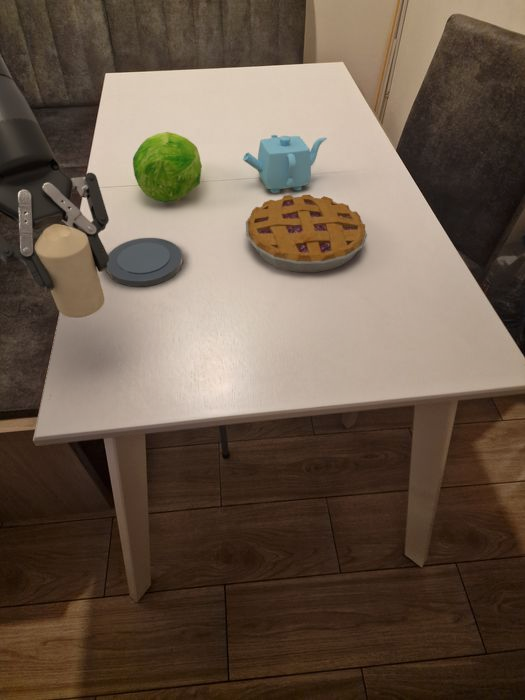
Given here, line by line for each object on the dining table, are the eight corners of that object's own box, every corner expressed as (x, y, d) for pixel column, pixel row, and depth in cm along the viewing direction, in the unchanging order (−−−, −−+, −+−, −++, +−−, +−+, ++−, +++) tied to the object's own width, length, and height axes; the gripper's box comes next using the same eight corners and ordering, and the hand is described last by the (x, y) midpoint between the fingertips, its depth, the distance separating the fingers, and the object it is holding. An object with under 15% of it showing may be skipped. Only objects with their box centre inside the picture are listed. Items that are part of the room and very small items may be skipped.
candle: (114, 302, 58) (94, 230, 51) (73, 325, 55) (47, 251, 48) (88, 283, 61) (66, 211, 54) (48, 303, 58) (19, 230, 51)
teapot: (250, 202, 100) (250, 154, 93) (236, 172, 109) (234, 126, 102) (332, 192, 103) (338, 145, 96) (311, 164, 113) (315, 119, 105)
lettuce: (208, 168, 111) (204, 113, 102) (201, 213, 97) (195, 153, 88) (147, 167, 111) (138, 113, 102) (132, 212, 97) (120, 153, 88)
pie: (341, 207, 99) (344, 184, 95) (382, 270, 84) (387, 245, 80) (235, 218, 95) (235, 195, 92) (258, 286, 80) (259, 261, 77)
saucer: (103, 289, 79) (101, 283, 78) (110, 245, 88) (108, 239, 87) (183, 283, 81) (182, 276, 80) (181, 240, 90) (180, 234, 89)
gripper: (-76, 133, 45) (11, 297, 47) (71, 102, 52) (143, 248, 54) (-64, 167, 52) (12, 310, 54) (66, 136, 58) (129, 265, 60)
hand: (77, 278), depth 54 cm, fingers closed on candle, 5 cm apart
